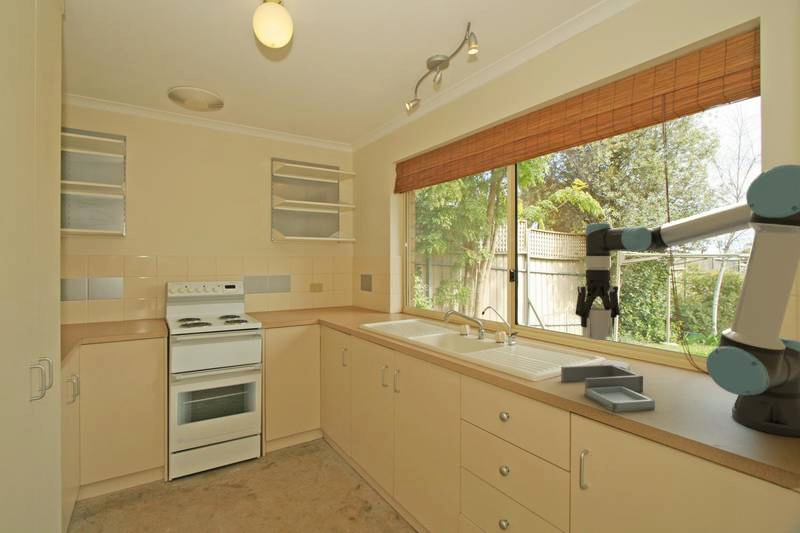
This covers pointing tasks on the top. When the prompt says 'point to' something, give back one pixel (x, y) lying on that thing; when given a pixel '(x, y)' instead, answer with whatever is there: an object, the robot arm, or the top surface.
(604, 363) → the charger
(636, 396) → the tray
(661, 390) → the top surface
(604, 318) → the cup
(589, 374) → the holder
